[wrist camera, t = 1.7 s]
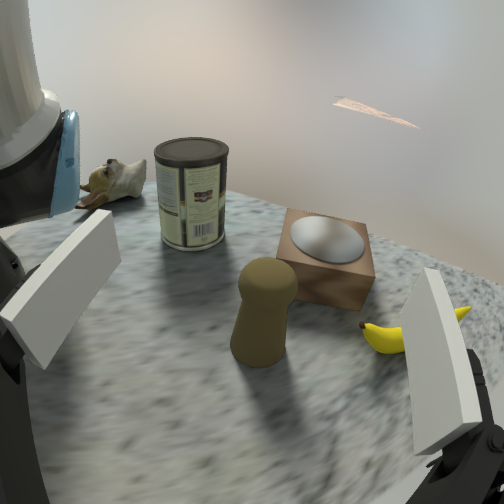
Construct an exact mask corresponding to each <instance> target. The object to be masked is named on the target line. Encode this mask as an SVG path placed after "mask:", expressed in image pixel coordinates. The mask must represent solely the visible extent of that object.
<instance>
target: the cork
mask: <svg viewBox="0 0 504 504" xmlns="http://www.w3.org/2000/svg"><path fill="white" fill-rule="evenodd" d="M238 287H239V291H240V294H241V298H242V302H241V306H240V309H239V313H238V316H237V319H236V323H235V326H234V330H233V333H232V337H231V342H230V347H231V351H232V353H233V355H234V356H235V358H236V359H237V360H239V361H240V362H241V363H242V364H245V365H247V366H250V367H255V368H263V367H269V366H271V365H273V364H275V363H277V362H278V361H279V360H280V359H281V358H282V356H283V354H284V351H285V339H286V324H287V308H288V306H289V305H290V304H291V303H292V301H293V300H294V298H295V296H296V293H297V290H298V281H297V276H296V274H295V272H294V270H293V269H292V268H291V267H290V266H289V265H288V264H287V263H285V262H284V261H282V260H279V259H276V258H269V257H265V258H258V259H255V260H253V261H251V262H250V263H248V264H247V265H246V266H245V267H244V269H243V270H242V272H241V274H240V277H239V285H238Z"/></svg>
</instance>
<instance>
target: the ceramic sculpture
mask: <svg viewBox="0 0 504 504" xmlns="http://www.w3.org/2000/svg"><path fill="white" fill-rule="evenodd" d="M145 180H146V160H145V159H143V160H142V161H138V162H135V163H133V164H131V165H124V164H122V163H121V161H119V160H116V159H108V160H107V164H106V165H103V166H98V167H97V168H95V170H94V171H93V172H92V173H91V175H90V178H89V184H87V185H80V189H82V190H84V191H86V192H90V194H89V195H88V196H86V197H84V198H83V200H82V201H81V203H79V204H78V205H76V207H75V209H95V208H98V207H99V206H101V205H103V204H104V203H108V202H111V201H114V200H117V199H119V198H122V197H125V196H128V195H130V196H133V197H134V198H138V197H139V196H140V194H141V192H142V189H143V185H144V182H145Z"/></svg>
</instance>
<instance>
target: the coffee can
mask: <svg viewBox="0 0 504 504" xmlns="http://www.w3.org/2000/svg"><path fill="white" fill-rule="evenodd" d="M228 152H229V148H228V146H227V145H226V144H225V143H223V142H221V141H218V140H215V139H210V138H202V137H188V138H179V139H173V140H169V141H166V142H164V143H161V144H159V145H158V146H157V147H156V148H155V149H154V156H155V164H156V178H157V192H158V203H159V215H160V225H161V237H162V239H163V241H164V242H165V243H166V244H167V245H169V246H170V247H172V248H175V249H178V250H182V251H200V250H204V249H208V248H211V247H213V246H215V245H216V244H218V243H219V242H220V241H221V240H222V238H223V237H224V233H225V230H224V219H225V193H226V173H227V155H228Z"/></svg>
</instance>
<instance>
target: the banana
mask: <svg viewBox="0 0 504 504" xmlns="http://www.w3.org/2000/svg"><path fill="white" fill-rule="evenodd" d="M470 310H471V307H470V306H469V307H462V308H458V309H455V310H454V312H455V315H456V318H457V321H458V322H459V321H460V320H462V318H463V317H464V316H465V315H466V314H467V313H468V312H469V311H470ZM359 326H360V328H361V329H362V330H363V335H364V337H365V339H366V340H367V342H368V343H369V344H370V345H371V346H372V347H373V348H374V349H375V350H376V351H378V352H380V353H384V354H395V353H400V352H404V351H405V348H404V341H403V335H402V329H401V327H396V328H382V327H378V326H376V325H373V324H370V323H368V324H364V323H363V322H360V323H359Z"/></svg>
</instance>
